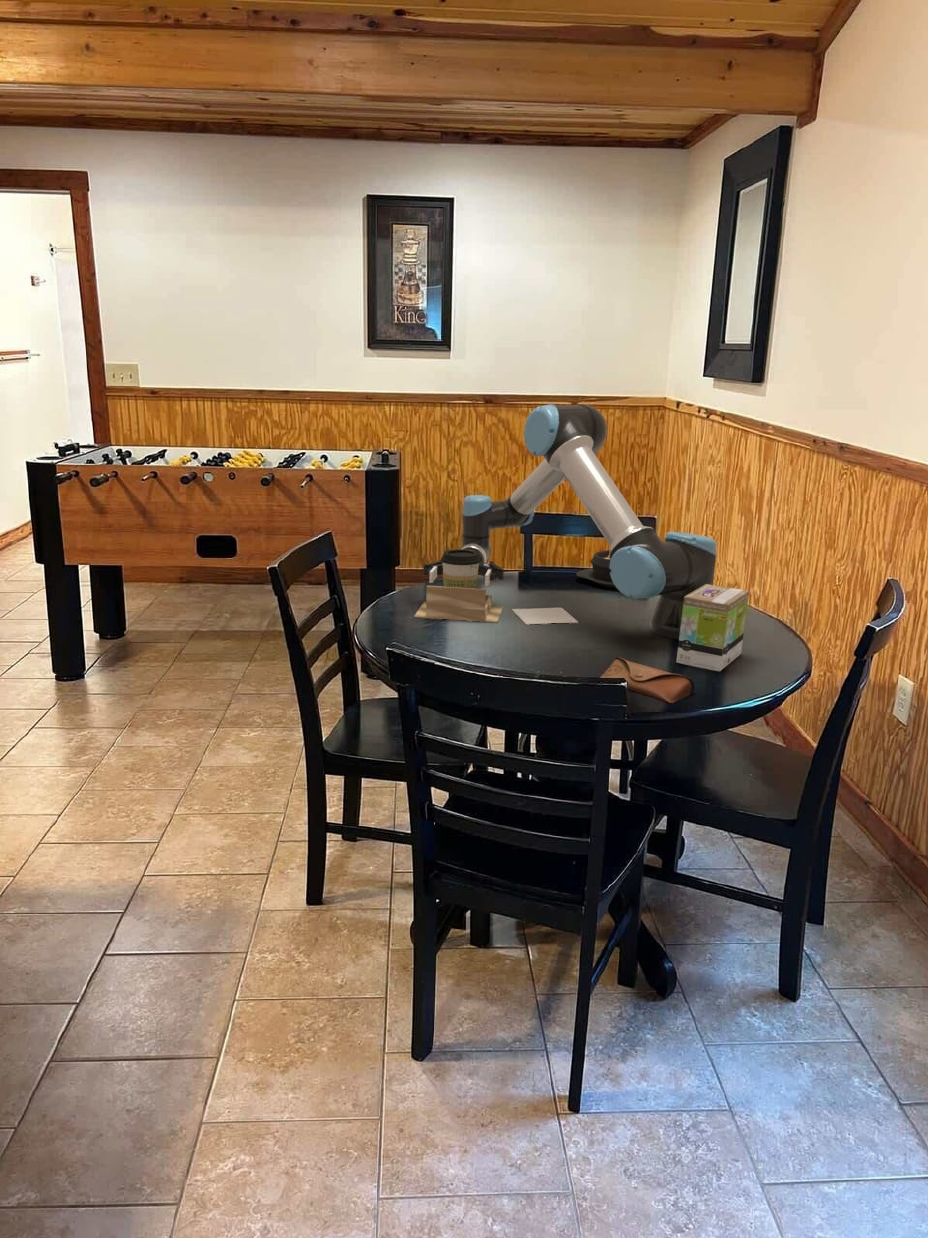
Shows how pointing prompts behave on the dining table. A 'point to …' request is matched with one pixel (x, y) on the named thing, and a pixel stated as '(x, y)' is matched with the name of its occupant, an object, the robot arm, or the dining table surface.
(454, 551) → the coffee cup
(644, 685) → the sunglasses case
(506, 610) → the dining table surface
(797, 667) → the dining table surface
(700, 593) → the tea box
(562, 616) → the mat
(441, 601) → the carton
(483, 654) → the dining table surface
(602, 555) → the black brimmed hat
